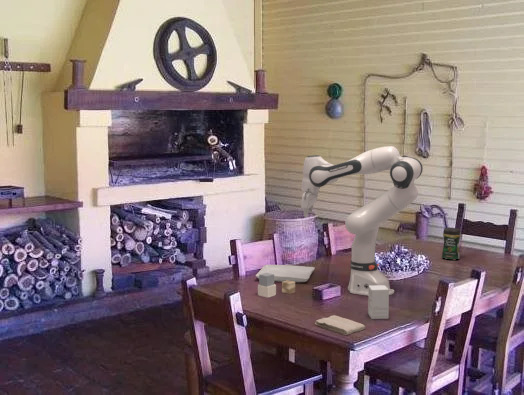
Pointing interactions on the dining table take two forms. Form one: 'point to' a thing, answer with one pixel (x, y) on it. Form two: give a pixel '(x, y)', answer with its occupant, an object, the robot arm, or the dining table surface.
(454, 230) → the coffee jar
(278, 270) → the square plate
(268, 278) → the tower top
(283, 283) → the beech cube
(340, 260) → the dining table surface
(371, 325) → the dining table surface
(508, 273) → the dining table surface
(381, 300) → the supplement box
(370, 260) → the robot arm
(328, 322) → the washcloth
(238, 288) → the dining table surface
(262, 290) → the tower base
